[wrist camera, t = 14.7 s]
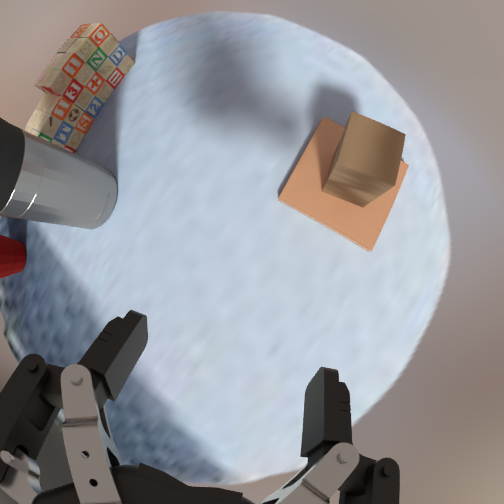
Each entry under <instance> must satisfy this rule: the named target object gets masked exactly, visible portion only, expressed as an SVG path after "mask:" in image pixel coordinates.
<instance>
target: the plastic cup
mask: <svg viewBox="0 0 504 504" xmlns="http://www.w3.org/2000/svg"><path fill="white" fill-rule="evenodd" d="M25 264H26V249H25V247H24V245H23V243H22V242H20V241H17V240H14V239H10V238H9V237H5V236H2V235H0V278H3V277H6V276H9V275H11V274H15V273H18V272H20V271H22V270H23V269H24V267H25Z"/></svg>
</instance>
